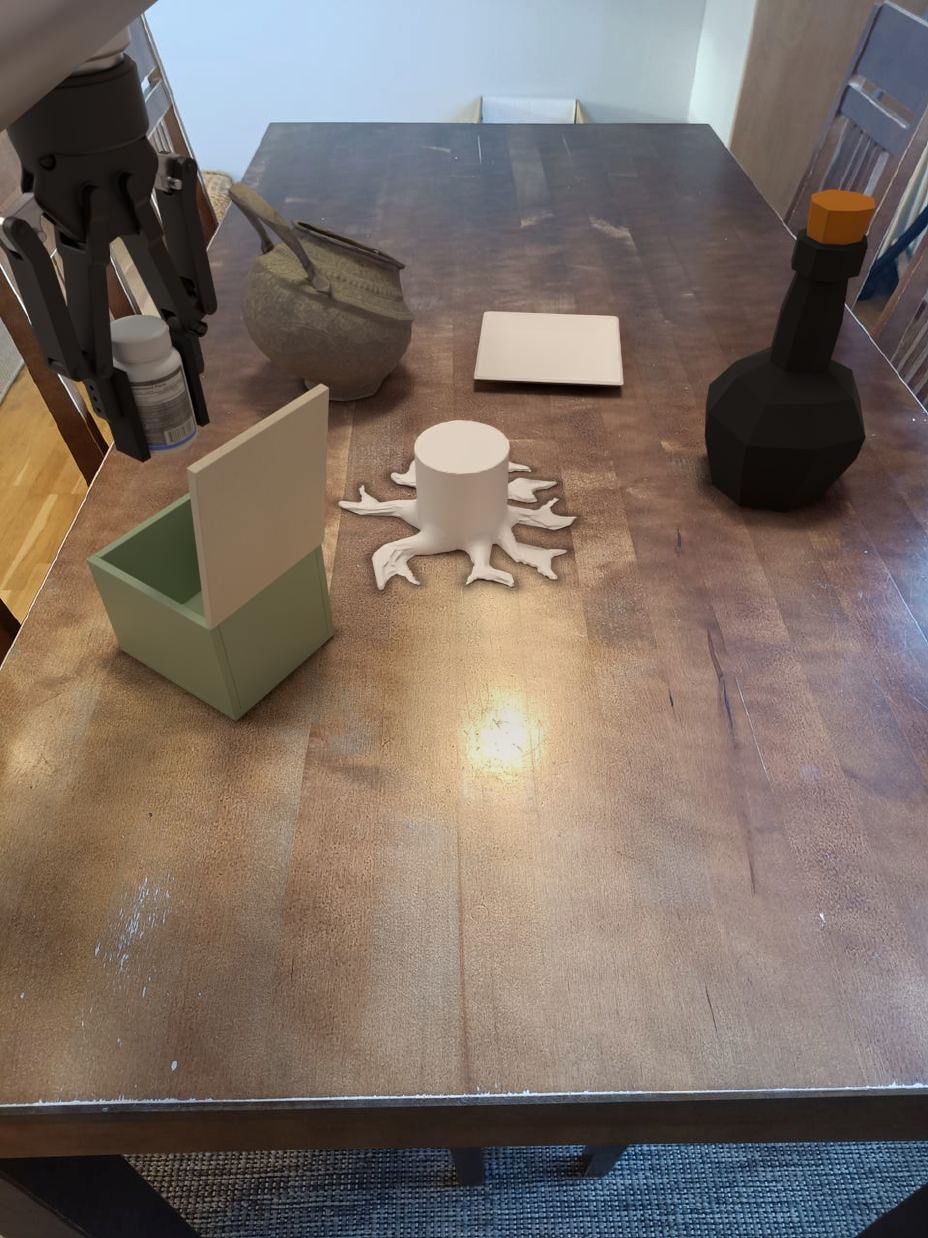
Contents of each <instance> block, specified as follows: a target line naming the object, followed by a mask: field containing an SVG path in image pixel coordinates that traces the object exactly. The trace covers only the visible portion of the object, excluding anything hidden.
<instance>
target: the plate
mask: <svg viewBox="0 0 928 1238" xmlns="http://www.w3.org/2000/svg"><path fill="white" fill-rule="evenodd" d="M619 320H620V319H619V317H618V316H615V315H599V314H595V315H594V314H573V313H572V314H571V313H570V314H569V313H541V312H517V311H492V310H491V311H490V310H489V311H488V310H487V311H485V312H483V316H482V323H481V329H480V334H479V342H478V348H477V354H476V360H475V367H474V373H473V379H474V380H475V381H477V382H486V383H487V382H489V383H511V384H513V383H514V384H533V385H534V384H536V385H557V386H559V385H560V386H580V387H583V386H584V387H605V388H606V387H607V388H620V387H622V386H623V385H624V383H625V382H624V372H623V371H624V370H623V361H622V360H623V359H622V348H621V347H622V346H621V345H622V344H621V334H620V321H619Z"/></svg>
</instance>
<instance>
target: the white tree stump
mask: <svg viewBox="0 0 928 1238" xmlns="http://www.w3.org/2000/svg"><path fill="white" fill-rule="evenodd" d="M413 449H414V450H413V451H414V452H413V453H414V460H412V461H411V463H410V465H409V468H408V471H406V473H401V474H400V473H398V472H392V473H391V474H390V479H391V480H392V481H393V482H394V483H396V484H398V485H401V486H407V487H410V488H411V487H412V488H415V490H416V491H415V492H416V498H414V499H396V500H395V499H394V500H389V501H383V502H380V501H378V500H377V499H376V498H375V497H373V496H371V495H369V494H368V493H367V492H366V491H365V485H364V484H362V485H361V487H360V488H358V490H359V494H360V496H361V501H359V502H356V501H347V500H340V501H338V506H339V507H340V508H342V509H344V510H348V511H350V512H353V513H355V514H358V515H361V516H373V517H375V516H376V517H377V516H378V517H395V518H400V519H402V520H403V521H404V522H406V523H407V524H409V525H411V526H412V527H414V528H416V529H418V530H420V531H419V532H417V533H416V534H414V535H411V536H408V537H404V538H401V539H398V540H395V541H392V542H388V543H385V544H383V545H382V546H381V547H380V548H378V549H377V550H376V551H375V552H374V553H373V555H372V557H371V561H372V565H373V571H374V575H375V581H376V587H377V589H378V590H379V591H382V590H384V589H385V586H386V584H387V582H388V581H389V579H391V577H394V576H395V575H399V576H402V577H405V578H406V580H408V582H409V583H412V584H414V585H416V586H419V585H421V582H420V581H418V580H416V576H413V575H414V573H412V570H411V569H410V568H409V565H408V564H407V563H408V561H409V560H410V559H412V558H413V557H414V556H419V555H420V556H421V555H422V556H423V555H425V556H427V555H429V556H430V555H431V556H432V555H437V554H442V553H447V552H453V551H457V550H461V551H463V552H465V553H467V554H468V556H469V558H470V561H471V563H472V564H473V567H472V572H471V573H470V575H469V576H468V577H467V579H466V580H467V581H466V582H465V585H469V584H470V583H472V582H473V581H475V580H477V579H484V580H486V581H495V582H498V583H501V584H504V585H506V586H508V587H509V588H511V587H515V585H514V583H515V580H514V578H513V575H512V573H510V572H507V571H503V570H500V569H496V568H493V566H491V565H490V559H491V554H492V549H493V545H497V546H498V547H500V548H501V549H502V550H503V551H504V552H505V553H506V554H507V555H508V556H509V557H510V558H511V559H512V560H513V561H515V563H520V562H521V563H523V565H529V566H530V567H533V568H536V569H537V572H538V573H540V574H542V575H543V576H544V577H545V576H547V577H548V579H549V580H553V581H554V580H558V576H557V574H556V573H555V572H554V571H553V570H552V560H553V558H554V557H556V556H557V557H558V556H560V555H564V554H566V553H568V550H567V549H559V548H558V549H557V548H551V549H548V548H543V547H539V546H534V545H531V544H527V543H522V542H517V540H516V537H515V535H514V533H513V531H512V529H513V527H515V525H517V524H520V525H526V526H531V527H538V528H543V529H549V530H553V531H554V530H558V529H562V528H564V527H568V526H571V525H572V524H573V522H574V521H575V520H576V519H577V518H578V517H577V516H561V515H558V514H554V513H553V511H552V509H551V507H552V506H554V504H555V503H556V502H557V501H559V498H556V497H553V500H548V502H547V503H546V504H543V505H541V507H540V508H539V509H531V508H524V507H520V506H513V505H509V504H508V500H514V501H518V502H523V503H536V502H537V501H538V500H537V497H535V495H534V492H536V491H541V490H547V489H550V488H552V487H554V486H556V485H557V483H558V482H557V481H553V480H552V481H547V480H542V479H541V480H540V479H539V480H538V479H533V478H532V479H530V478H527V477H526V478H524V477H517V478H515V479H514V480H513V481H510V482H509V473H512V472H514V471H518V472H522V471H524V472H529V473H531V472H532V470H531V468H530V467H529V466H527V465H523V464H518V463H513V462H512V461H510V441H509V440H508V438H507V437H506V435H505V434H504V433H503V432H501V430H499V429H498V428H495V427H494V426H492V425H490V424H489V425H488V423H483V422H479V421H474V420H464V419H463V420H462V419H456V420H450V421H447V422H440V423H438V424H434V425H433V426H430V427H427V428H426V429H425V430H424V431H422V433H420V435H419V436H417V438H416V439H415V442H414V445H413Z"/></svg>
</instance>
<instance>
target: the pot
mask: <svg viewBox="0 0 928 1238" xmlns="http://www.w3.org/2000/svg"><path fill="white" fill-rule="evenodd" d="M227 196H228V198H229V199H230V201H231V202H232V203H233V204H234V205H235V206H236V207H237V208H238V210H239V211H240V212H241V213H242V214H243V215H244V217H245V218H246V219H247V221H248V222H249V223H250V224H251V226H252V227H253V228H254V230H255V232H256V233H257V234H258V236H259V239H260V250H261V252H262V254H260V255H256V256H254V257H253V261H252V263H251V267H250V270H249V271H248V273H247V274H246V276H245V277H244V279H243V283H242V287H241V293H240V310H241V314H242V318H243V321H244V326H245V328H246V331H247V332H248V334H249V337H250V339H251V340H252V342H253V343H254V344H255V345H256V347H257V348H258V350H260V352H261V353H262V354H263V355H264V356H265V357H267V358H268V359H269V360H270V361H271V362H272V363H274V364H275V365H277V366H278V367H280V368H281V369H283V370H285V371H287V372H288V373H289V374H291V375H294V376H296V377H299V378H301V379H303V380H304V385H305V386H306V388H307V389H308V391H310V390H311V389H313V388H314V387H316V386H318V385H319V384H323V385H325V386H326V387H328V388H329V401H339V402H346V401H352V400H353V401H354V400H360V399H364V398H366V397H370V396H374V395H375V393H377V391H378V390H379V388H380V387H381V384H382V383H383V381H384V379H385V378H386V377H387V376H388V374H390V373H391V372H392V371H393V370H394V368H395V367H396V366H397V365H398V363H399V362H400V360H401V359H402V358H403V356H404V355H405V354H406V352H407V350H408V349H409V345H410V343H411V341H412V335H413V334H412V333H413V328H412V324H413V323H414V321H415V320H416V318H415V317H416V316H415V314H414V313H413V312H412V311H411V310H410V309H409V307H408V305H407V303H406V302H405V298H404V293H403V289H402V283H401V275H400V272H401V271H404V270H405V269H406V263H404V262H402V261H401V260H399V259H398V258H396V257H394V256H392V255H390V254H389V253H387V252H386V251H385V250H382V249H379V248H375V247H374V246H371V245H369V244H368V243H366V242H363V241H361V240H358V239H355V238H353V237H349V236H345V235H341V234H339V233H335V232H333V231H331V230H328V229H326V228H324V227H321V226H319V225H317V224H314V223H312V222H305V221H303V220H301V219H298V218H295V219H291V220H290V224H291V226H292V229H291V228H290V226H289V225H288V223H287V222H286V221H285V220H284V218H283V217H282V215H281V214H280V212H278V210H276V209H275V207H273V206H271V204H269V203H268V202H267V201H266V200H265V199H264V198H262V197H261V196H260V195H258V193H256V191H254V190H253V189H252V188H250V187H249V186H247V185H245V184H244V183H242V182H241V181H239V180H238V181H237V182H235V183H234V184H233V185H231V186H230V187H229V188H228V189H227ZM262 223H263V224H265V225H266V226H267V227H268V228H269V229H271V230H272V231H273V232H274V233H275V234H276V235H277V237H278V238H279V239H280V240H281V241H282V242H280V243H277V244H274V243H273V241H272V239H271V238H270V236H269V234H268V232H267V231H266V229H265V227H264V226H263V224H262Z"/></svg>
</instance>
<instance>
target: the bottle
mask: <svg viewBox="0 0 928 1238" xmlns="http://www.w3.org/2000/svg"><path fill="white" fill-rule="evenodd" d="M875 201H876V200H875V197H871V196H868V195H865V194H862V193H859V192H856V191H849V190H841V189H834V188H830V189H826V190H823V191H822V190H821V191H820V192H816V193H812V194H811V197H810V203H809V209H808V217H807V225H806V228H802V229H799V230H797V235H796V239H795V242H794V246H793V249H792V250H793V251H792V255H791V259H790V266H791V267H790V268H791V270H793V271H795V273H794V275H793V277H792V280H791V282H790V284H789V286H788V289H787V291H786V294H785V296H784V298H783V301H782V303H781V306H780V309H779V314H778V317H777V320H776V321H777V322H776V325H775V329H774V333H773V336H772V341H771V345H770V346H769V347H766V348H765V349H762V350H759V351H757V352H755V353H752V354H750V355H747V356H745V357H742V358H739V359H737V360H734V362H733V363H732V364H731V365H730V366H728V367H727V368H726V369H725V370H724V371H723V372H722V373H721V374H719V375H718V376H717V377H716V378H715V379H714V380H713V381H712V382H711V383H709V384H708V390H707V397H706V402H705V413H704V416H705V417H704V442H705V448H706V455H707V461H708V468H709V475H710V483H711V485H712V486H713V487H714V488H715V489H717V490H718V491H720V492H721V493H722V494H724V495H725V496H726V497H727V498H729V499H730V500H731V501H733V502H734V503H735V504H737V505H738V506H740V507H746V508H752V509H759V510H766V511H772V512H779V513H787V512H790V511H792V510H795V509H798V508H800V507H802V506H805V505H807V504H811V503H813V502H816V501H818V500H821V499H822V497H823V496H824V495H825V494H826V493H827V492H828V491H829V490H830V488H832V486H833V485H834V484H835V483H836V482H837V481H838V480H839V479H840V478H841V477H842V475H843V474H844V473H845V472H846V471H847V470H848V469H849V468H850V467H851V465H852V464H854V462H856V460H857V459H858V457H859V454H860V452H861V449H862V447H863V445H864V443H865V440H866V438H867V437H866V430H865V424H864V416H863V409H862V402H861V398H860V394H859V390H858V387H857V383H856V379H855V376H854V372H853V369H852V368H850V367H847V366H846V365H844V364H841V363H840V362H838V361H836V360H834V359H832V357H833V354H834V350H835V348H836V344H837V341H838V338H839V335H840V331H841V327H842V325H843V321H844V315H845V309H846V308H845V307H846V300H847V293H848V287H849V280H850V279H851V278H857V277H859V276H860V274H861V270H862V267H863V264H864V261H865V257H866V254H867V252H868V248H869V243H868V235H866V234H865V232H866V230H867V228H868V226H869V224H870V221H871V219H872V216H873V214H874V212H875V210H876V202H875Z"/></svg>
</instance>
